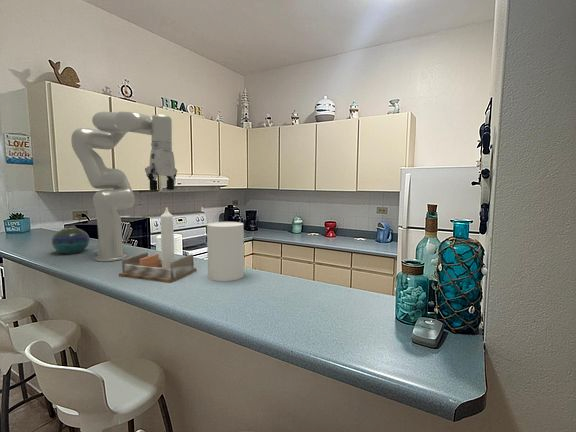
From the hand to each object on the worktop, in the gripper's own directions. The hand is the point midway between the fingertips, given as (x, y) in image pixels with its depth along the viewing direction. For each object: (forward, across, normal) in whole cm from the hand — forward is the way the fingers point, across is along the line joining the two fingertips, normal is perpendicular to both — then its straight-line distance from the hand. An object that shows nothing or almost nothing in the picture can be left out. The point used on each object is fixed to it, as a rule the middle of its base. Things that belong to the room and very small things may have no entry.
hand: (162, 190), depth 129 cm
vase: (+34, +5, +59) cm, 69 cm away
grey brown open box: (+32, -8, -5) cm, 33 cm away
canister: (+31, -1, -31) cm, 44 cm away
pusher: (+31, -8, -1) cm, 32 cm away
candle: (+31, -7, -9) cm, 33 cm away
